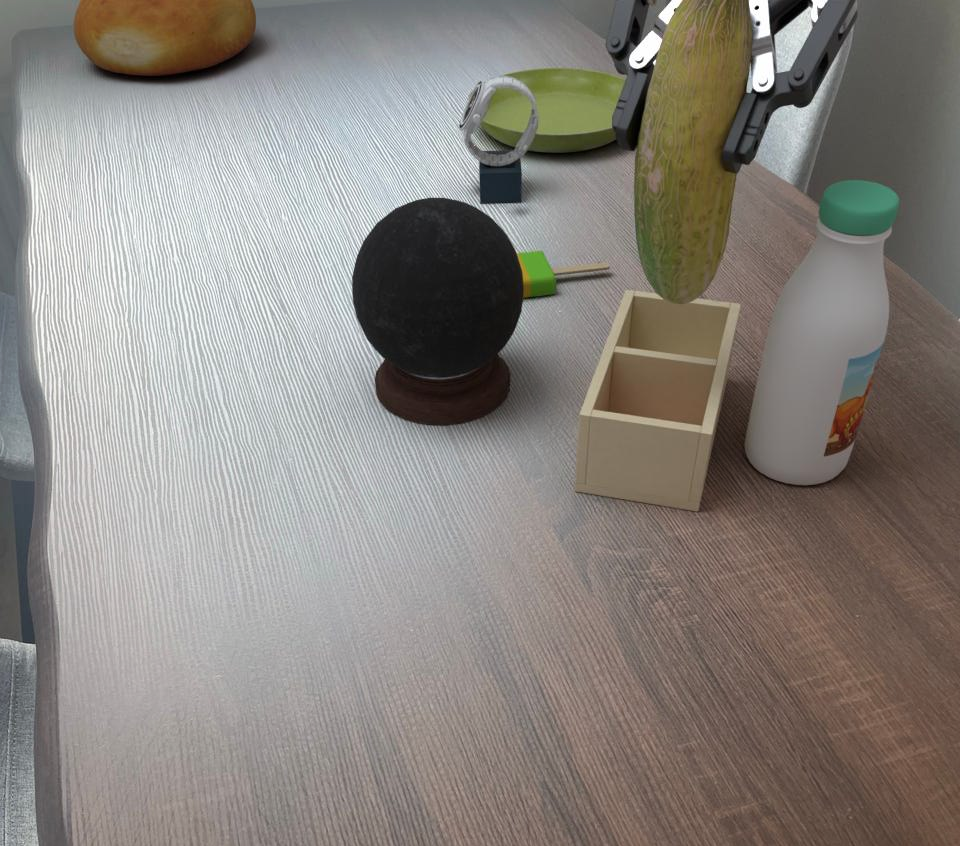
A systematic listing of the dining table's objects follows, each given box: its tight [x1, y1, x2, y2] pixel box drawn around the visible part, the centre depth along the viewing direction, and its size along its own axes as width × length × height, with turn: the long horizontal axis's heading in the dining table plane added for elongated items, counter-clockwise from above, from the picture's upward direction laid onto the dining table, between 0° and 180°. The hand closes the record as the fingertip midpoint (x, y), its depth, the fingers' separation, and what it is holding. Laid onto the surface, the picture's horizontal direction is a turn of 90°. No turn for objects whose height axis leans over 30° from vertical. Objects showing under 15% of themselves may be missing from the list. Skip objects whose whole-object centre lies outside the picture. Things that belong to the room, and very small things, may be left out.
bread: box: [73, 0, 257, 77], centre depth 135 cm, size 23×23×10 cm
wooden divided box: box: [574, 289, 742, 513], centre depth 77 cm, size 9×17×7 cm, turn 164°
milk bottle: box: [744, 179, 900, 486], centre depth 70 cm, size 8×8×20 cm
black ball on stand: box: [351, 197, 524, 426], centre depth 79 cm, size 13×13×15 cm
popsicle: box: [516, 250, 611, 299], centre depth 95 cm, size 6×15×2 cm, turn 101°
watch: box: [458, 75, 539, 204], centre depth 105 cm, size 6×8×11 cm
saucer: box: [466, 67, 626, 154], centre depth 119 cm, size 21×21×3 cm
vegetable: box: [633, 0, 752, 304], centre depth 61 cm, size 6×6×20 cm
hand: (675, 154), depth 60 cm, fingers closed on vegetable, 6 cm apart
